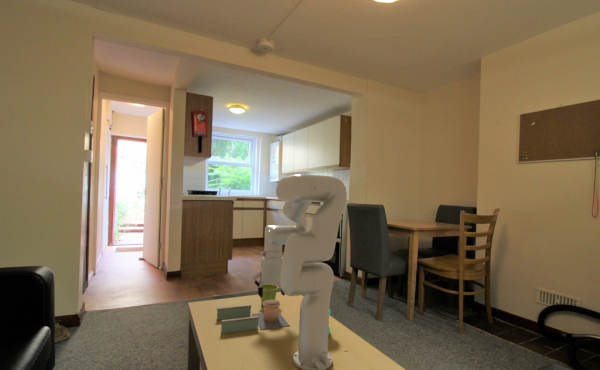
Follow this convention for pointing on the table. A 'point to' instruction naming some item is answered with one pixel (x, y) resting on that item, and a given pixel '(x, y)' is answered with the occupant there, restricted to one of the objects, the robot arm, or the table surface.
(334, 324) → the table surface
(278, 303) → the seedling pot
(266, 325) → the mat
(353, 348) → the table surface
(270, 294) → the plant pot
